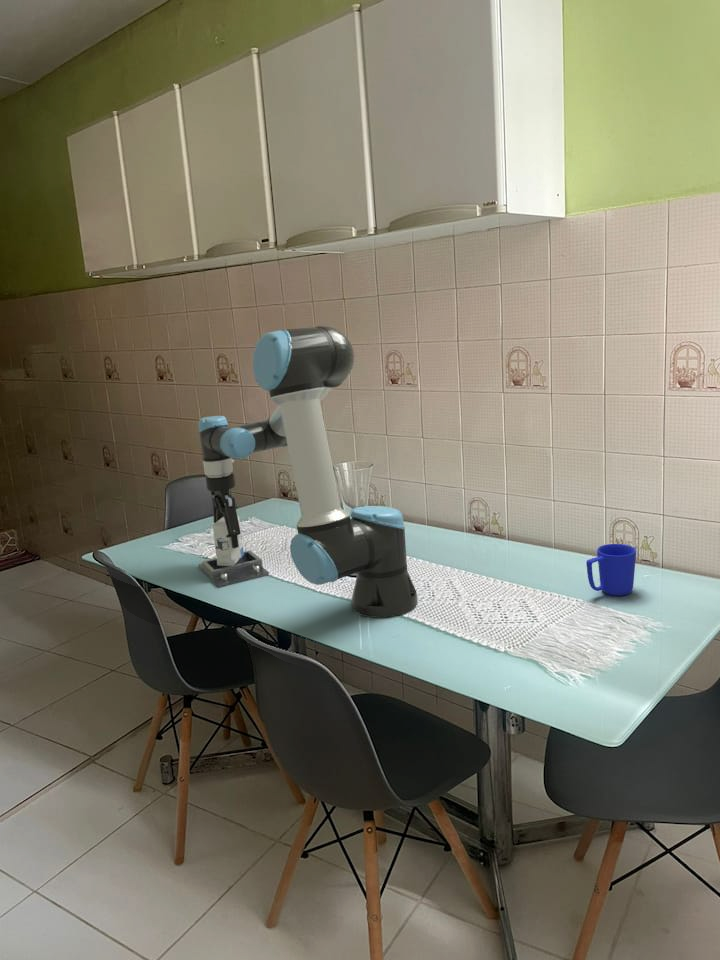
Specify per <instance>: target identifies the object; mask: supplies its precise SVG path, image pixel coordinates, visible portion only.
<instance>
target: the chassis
mask: <svg viewBox="0 0 720 960" xmlns="http://www.w3.org/2000/svg"><path fill="white" fill-rule="evenodd" d="M197 566H198V568H199V569H200V570H201V571H202V572H203V573H204V574H205V576H207V577H208V578H209V580H211V582H212V583H213V584H214V585H215V586H216V587H217V588H218V589H219V588H224V587H228V586H231V585H235V584H239V583H243V582H247V581H252V580H256V579H259V578H262V577H266V576H269V575H270V572H269V571H268V570H267V569H265V568H264V567H263V560H262V558H260V557H259V556H258V555H257V554H256V553H254V552H253V551H251V549H250V550H246V551H245V550H244V556H243V557H241V558H240V559H239V560H238V561H237V562H236V563H235V564H234V565H233V566H218V565H217V558H211V557H210V558H206V559H205V560H203V561H201V563H198V565H197ZM268 574H269V575H268Z"/></svg>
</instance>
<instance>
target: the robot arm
mask: <svg viewBox="0 0 720 960" xmlns="http://www.w3.org/2000/svg"><path fill="white" fill-rule="evenodd" d="M354 363H355V351H354V347H353V344H352V342H351V341H350V339H349V338H348V337H347V335H345V333H343V332H342V331H341V330H339V329H337V328H335V327H333V326H328V325H319V326H311V327H300V328H288V329H279V330H276V331H270V332H266V333H265V334H263V335H262V336H261V337H260V338H259V339H258V341H257V342H256V345H255V347H254V351H253V356H252V370H253V375H254V379H255V381H256V382H257V385H258V386H259V387H260V389H262V390H265V391H268V392H269V398H270V400H271V401H272V402H274V403H276V404H277V407H276V408H275V409H274V411H273V412H272V413H271V415H270V416H269V417H268V418H267V420H263V421H262V420H261V421H257V422H252V423H246V424H242V425H237V426H229V423H228V421H227V418H226V416H224V415H212V416H205V417H202V418H200V419H199V420H198V423H197V424H198V435H199V443H200V447H201V448H200V449H201V454H202V465H203V470H204V475H205V476H206V477H205V483H206V489H207V490H208V491H209V492H210V495H211V501H212V512H213V513H212V515H213V524H215V523H216V522H217V521H218V520H220V519H221V518H222V517H224V519H225V523H226V525H227V530H228V535H227V536H226V537H227V538H228V543H229V550H230V557H231V560H234V559H238V558H241V552H240V544H239V537H238V535H239V534H242V530H241V531H240V527H239V522H238V517H237V516H238V514H237V508H236V498H234V497H232V495H231V494H230V490H231V489H233V488H235V486H236V479H235V474H234V473H233V471H234V467H233V466H234V465H233V464H234V462H235V460H234V459H245V458H248V457H249V456H250V455H252V454H254V453H258V452H264V451H267V450H273V449H277V448H278V449H279V448H285V447H287V451H288V454H289V459H290V465H291V470H292V475H293V480H294V483H295V485H294V486H295V489H296V495H297V499H298V503H299V509H300V514H301V515H300V518H299V519H298V521H297V523H296V530H297V533H296V534H295V535H294V536H293V537H292V538H291V540H290V547H289V550H290V556H291V559H292V562H293V565H294V566H295V567H296V569H297V571H298V572H299V574H300V575H301V576H302V577H303V578H304V579H305V581H307V582H309V583H311V584H313V585H317V586H318V585H319V586H320V585H324V584H327V583H333V582H336V581H338V580H340V579H343V578H346V577H348V576H351V575H354V574H356V578H355V583H354V588H353V591H352V595H351V605H352V609H353V611H354V612H356V613H357V614H359V615H360V616H364V617H368V618H391V617H396V616H400V615H403V614H406V613H409V612H410V611H412V610H414V609H415V608H416V606H417V605H418V592H417V590H416V588H415V585H414V582H413V580H412V578H411V575H410V573H409V572H408V571H409V570H408V560H407V549H406V548H407V546H406V531H405V529H406V527H405V523H404V517H403V514H402V512H401V511H400V510H399V509H398V508H394V507H389V506H382V505H381V506H380V505H365V506H359V507H355V508H353V509H352V510H351V511H350V513H349V512H348V511H346V510H344V509H343V508H342V507H341V501H340V498H339V492H338V486H337V482H336V476H335V471H334V467H333V462H332V457H331V452H330V451H331V450H330V447H329V442H328V436H327V431H326V426H325V422H324V416H323V410H322V406H321V402H322V401H323V399H324V398H325V397H326V396H327V395H329V392H331V391H332V389H335V388H338V387H340V386H341V385H342V384H343V383H344V381H346V379H347V378H348V377H349V375H350V374H351V372H352V369H353V367H354ZM234 530H235V531H234Z"/></svg>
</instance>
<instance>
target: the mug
mask: <svg viewBox="0 0 720 960" xmlns="http://www.w3.org/2000/svg"><path fill="white" fill-rule="evenodd" d="M596 553H597V556H595V557H592V558H590V559H588V560H586V570H587V573H586V574H587V580H588V583H589V587H591V589H592V590H594V591H597V592H598V591H603V593H605V594H606V595H609V596H615V597H617V596H619V597H622V596H626V595H629V594H631V592H632V591H633V588H634V582H635V581H634V579H635V572H636V571H635V569H636V559H637V558H636V557H637V550H636V548H635V547H633V546H632V545H628V544H624V543H623V544H622V543H608V544H603V545H600V546H599V547H598V548H597V549H596ZM596 562H597V563H598V564H597V565H598V574H599V583H600V584H599V586H596V585H595V581H594V575H593V564H595V563H596Z"/></svg>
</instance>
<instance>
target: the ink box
mask: <svg viewBox="0 0 720 960" xmlns="http://www.w3.org/2000/svg"><path fill="white" fill-rule="evenodd" d="M237 517H238V522H239V527H240V531H241V532H242V529H241V528H242V527H241V519H240V515H237ZM212 531H213V539H214V540H213V541H214V548H215V556H216V558H217V565H218V566H233V565H234V564H235V563H236V562H237V561H238V560H239V559H240V558H238V559H234V560H231V557H230V550H229V543H228V538H227V537H226V536H227V535H228V530H227V525H226V523H225V519H224V517H222V518H221V519H220V520H218V521H217V522H216V523H213V524H212ZM234 531H235V530H234ZM238 537H239V544H240V552H241V557H243V556H244V552H245V550H244V543H243V536H242V533H241V534H239V535H238Z"/></svg>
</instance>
